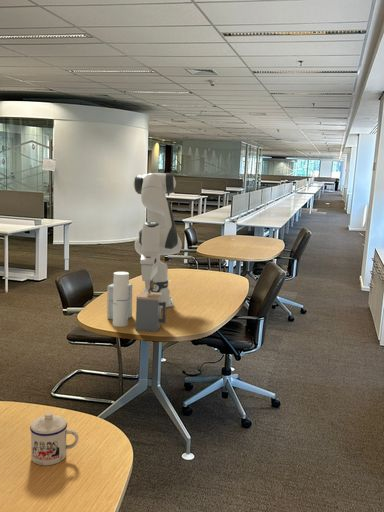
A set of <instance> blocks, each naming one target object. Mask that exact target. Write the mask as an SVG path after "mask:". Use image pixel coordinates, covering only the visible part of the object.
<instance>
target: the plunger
mask: <svg viewBox="0 0 384 512" xmlns="http://www.w3.org/2000/svg"><path fill="white" fill-rule="evenodd" d="M144 285H145V284H144ZM144 287H145V288H144V289H146V285H145V286H144ZM153 289H154V282H153V281H150V289H149V290H148V289H147V290H148V295H151V290H153Z"/></svg>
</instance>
